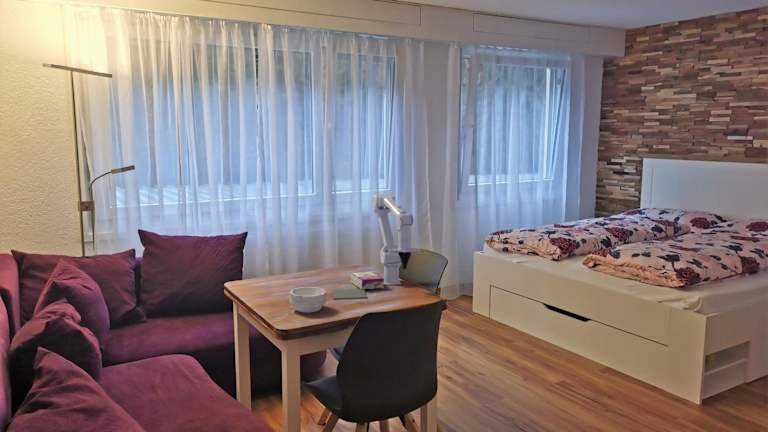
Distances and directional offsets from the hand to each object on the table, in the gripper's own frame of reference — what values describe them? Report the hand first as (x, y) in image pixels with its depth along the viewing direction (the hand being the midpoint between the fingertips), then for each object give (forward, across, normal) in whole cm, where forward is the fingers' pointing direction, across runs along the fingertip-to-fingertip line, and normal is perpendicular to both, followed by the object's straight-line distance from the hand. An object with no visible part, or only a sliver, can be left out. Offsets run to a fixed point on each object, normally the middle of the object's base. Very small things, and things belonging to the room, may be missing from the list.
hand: (404, 268), depth 274 cm
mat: (+10, -26, -4) cm, 28 cm away
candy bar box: (+8, -14, +2) cm, 16 cm away
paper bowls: (+11, -44, -24) cm, 51 cm away
